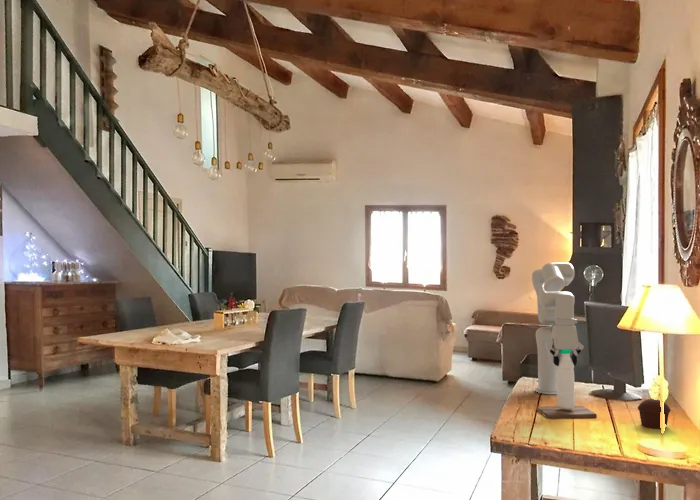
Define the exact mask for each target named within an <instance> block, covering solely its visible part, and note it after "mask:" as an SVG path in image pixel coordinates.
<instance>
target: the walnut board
mask: <svg viewBox="0 0 700 500" xmlns="http://www.w3.org/2000/svg"><path fill="white" fill-rule="evenodd" d="M537 410H538V411H537ZM536 411H537V412H539V411H540V412H541V413H542V414H541V413H540V412H539V413H540V414H541V415H543V414H544V415H545V416H546V417H545V416H544V415H543V416H544V417H545V418H547V419H596V418H597V417H598V416H597V413H596V412H594V411H592V410H590V409H589V408H587V407H585V406H584V405H575V407H574V408H573V409H561V408H559V407H558V406H557V405H556V406H555V405H553V406H549V405H548V406H547V405H546V406H536Z"/></svg>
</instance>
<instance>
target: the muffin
mask: <svg viewBox="0 0 700 500" xmlns="http://www.w3.org/2000/svg"><path fill="white" fill-rule="evenodd" d="M654 399H655V398H649V399H644V400H643V401H641V402H640V403H639V405H638V406H637V410H638V411H639V418H640V424H641V427H644V428H648V429H653V430H661V429H660V412H661V407H660V399H657V400H654ZM671 411H672V410H671V408H670V406H669V405H668V404H667V403H665V402H664V414H665V424H666V425H667V426H668V420H669V413H670V412H671Z"/></svg>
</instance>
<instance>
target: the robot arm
mask: <svg viewBox="0 0 700 500" xmlns="http://www.w3.org/2000/svg"><path fill="white" fill-rule="evenodd" d="M575 273H576V272H575V268H574V266H573V264H572V263H570V262H548V263H545V264H544V265H543V266H542V267H541V268H539V269H535V270H534V271H532V273H531V282H532V285H533V289H534V291H535V293H536V299H537V300H536V302H537V303H536V304H537V318H538V321H539V323H540V324H544V325H552V326H543V327H542V326H541V327H539V328H537V329H536V331H535V340H536V348H537V377H538V378H537V381H538V382H537V383H538V384H537V385H538V386H537V387H535V389H534V391H536V392H535V393H537V392H538V393H537V394H541V393H542V395H557V367H556V366H559V357H560V356H559V350H564V349H569V350H571V353H572V354H571V355H570V358H571V359H572V362H573V364H574V367H576V366H577V363H578V356H579V354H580V353H581V352H582V350H584V349H585V346H584V345H583V344H582V343H581V342H580V341H579V339H578V330H577V327H576V324H578V319H575V302H576V300H575V299H576V298H575V295H573V293H572V292H571V291H562V290H563V289H564V288H565V287H567V286H569V285H570V284H571V283H572V281H573V280H574V279H575Z"/></svg>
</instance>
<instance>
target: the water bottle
mask: <svg viewBox="0 0 700 500" xmlns="http://www.w3.org/2000/svg"><path fill="white" fill-rule="evenodd" d="M571 353H572V352H571V350H569V349H564V350H559V353H558V355H559V356H558V357H559V366H556V367H557V394H556V396H557V397H556V398H557V400H556V406H558V407H559V408H561V409H573V408H574V407H575V406H576V401H575V399H576V398H575V397H576V395H575V366H574V364H573V362H572V359H571Z"/></svg>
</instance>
